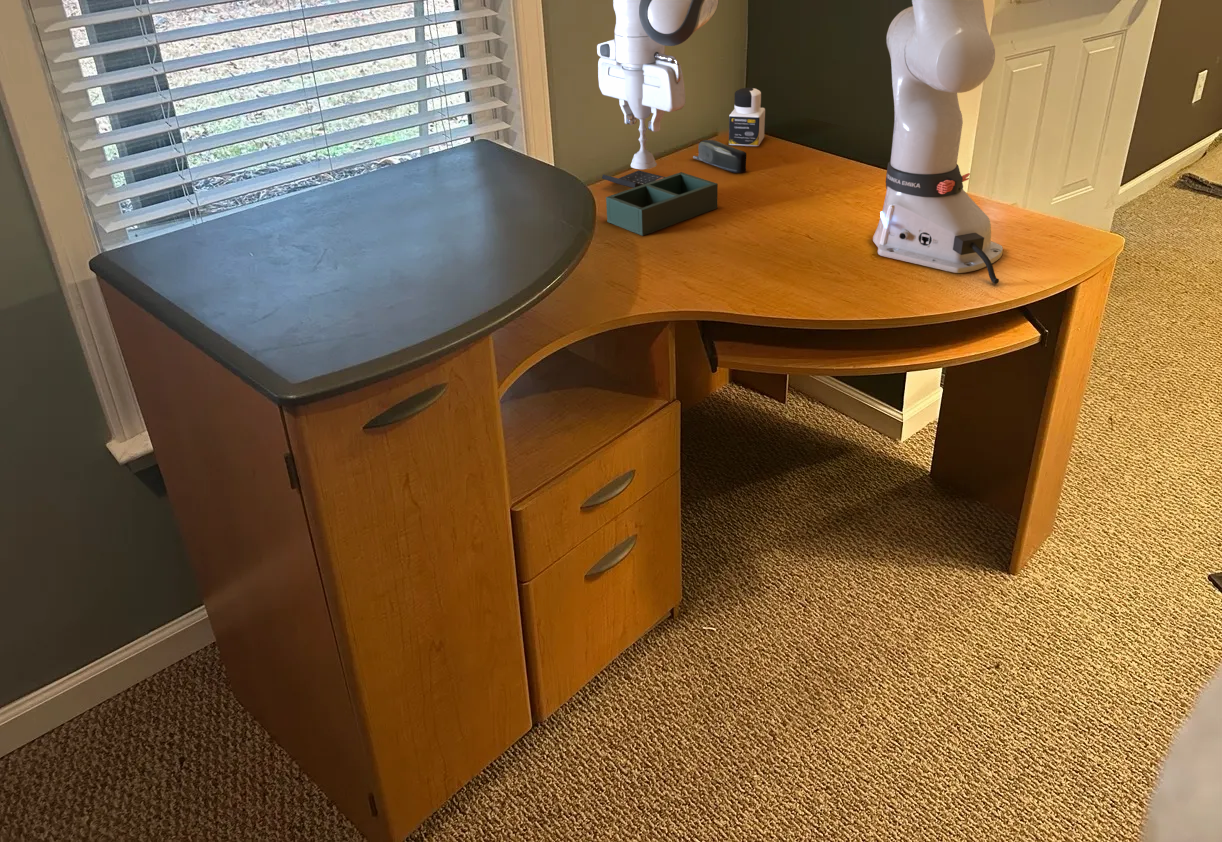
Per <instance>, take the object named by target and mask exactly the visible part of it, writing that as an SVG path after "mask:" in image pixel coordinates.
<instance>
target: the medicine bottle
mask: <svg viewBox="0 0 1222 842" xmlns="http://www.w3.org/2000/svg"><path fill="white" fill-rule="evenodd" d="M761 105H762V91H761V90H759V89H757V88H756V87H755V88H754V87H742V88H739V89H737V90H736V91H735V92H734V108H733V110H732V111H731V112H730V114H729V117H728V123H729V124H728V146H741V147H743V146H745V147H759V146H760V144H761V143H762V142H763V140H764V138H765V128H766V127H765V126H766V125H765V124H766V108H765V107H761Z"/></svg>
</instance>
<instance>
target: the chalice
mask: <svg viewBox="0 0 1222 842" xmlns="http://www.w3.org/2000/svg"><path fill="white" fill-rule="evenodd" d="M622 70H623V72H624V74H625V96H626V98H627V101H628V104H629V106H630V108H631V110H632V112H633V114H634V116H635V117H636V119H638V120H639V126H638V127H639V128H638V129H637V130H638V131H639V138H638V140H637V141H639V143H640V148H639V150H638V151H636V152H635V153H634V155H633V157H632V160H631V163H630V168H632V169H636V170H648V169H649V170H650V169H653V168H656V166H657V165H658V163H657V161H656V158H655V157H654V154H653V153H652V152H651V151H649V150H648V149H647V147H646V144H647V141H648V138H647V137H646V131H647V130H648V127H646V119H648V118H649V117H650V116H651V114H652V113H651V107H648V106H644V105H642V99H643V84H644V75H643V73H644V71H628V70H624V69H623V66H622Z"/></svg>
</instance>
